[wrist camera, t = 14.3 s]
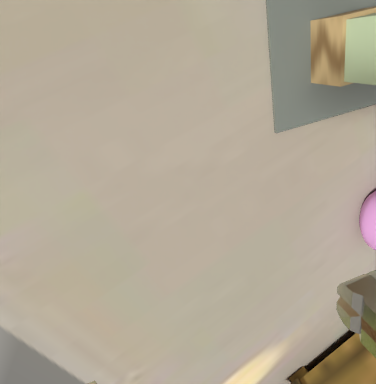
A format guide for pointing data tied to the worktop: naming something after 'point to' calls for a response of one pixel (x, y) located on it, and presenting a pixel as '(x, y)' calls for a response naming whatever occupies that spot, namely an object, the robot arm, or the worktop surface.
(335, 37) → the oak base block
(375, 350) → the robot arm
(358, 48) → the sage top block
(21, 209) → the worktop surface
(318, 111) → the slate mat
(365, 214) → the teapot
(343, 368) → the wooden nightstand
